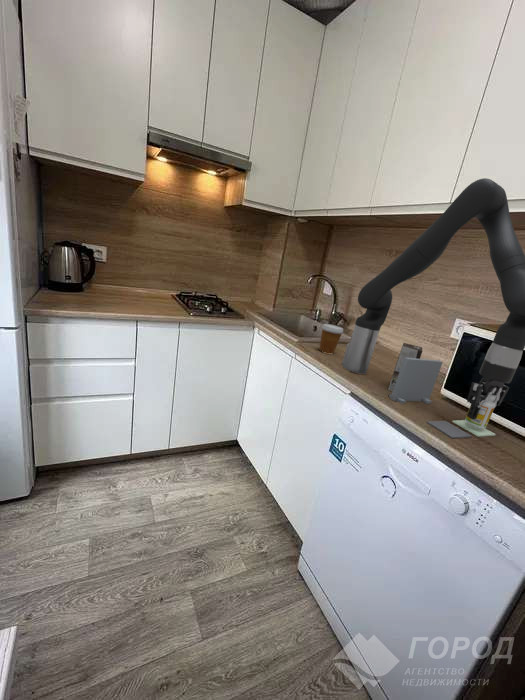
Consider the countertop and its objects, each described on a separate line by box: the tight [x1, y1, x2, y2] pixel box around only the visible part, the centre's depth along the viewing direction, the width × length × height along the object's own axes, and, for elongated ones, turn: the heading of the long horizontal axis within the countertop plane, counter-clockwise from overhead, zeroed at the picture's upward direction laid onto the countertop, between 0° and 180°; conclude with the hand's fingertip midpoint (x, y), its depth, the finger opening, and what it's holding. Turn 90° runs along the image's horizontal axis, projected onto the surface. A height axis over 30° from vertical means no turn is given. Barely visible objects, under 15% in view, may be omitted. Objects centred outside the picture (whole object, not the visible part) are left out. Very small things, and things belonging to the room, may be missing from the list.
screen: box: [388, 358, 444, 405], centre depth 106 cm, size 5×16×14 cm, turn 114°
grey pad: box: [426, 420, 473, 440], centre depth 90 cm, size 8×8×1 cm
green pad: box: [451, 419, 497, 437], centre depth 95 cm, size 8×8×1 cm
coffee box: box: [387, 342, 423, 392], centre depth 114 cm, size 9×6×16 cm
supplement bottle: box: [464, 395, 496, 429], centre depth 94 cm, size 5×5×10 cm
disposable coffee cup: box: [319, 323, 344, 353], centre depth 147 cm, size 10×10×12 cm
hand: (477, 417), depth 95 cm, fingers closed on supplement bottle, 5 cm apart
